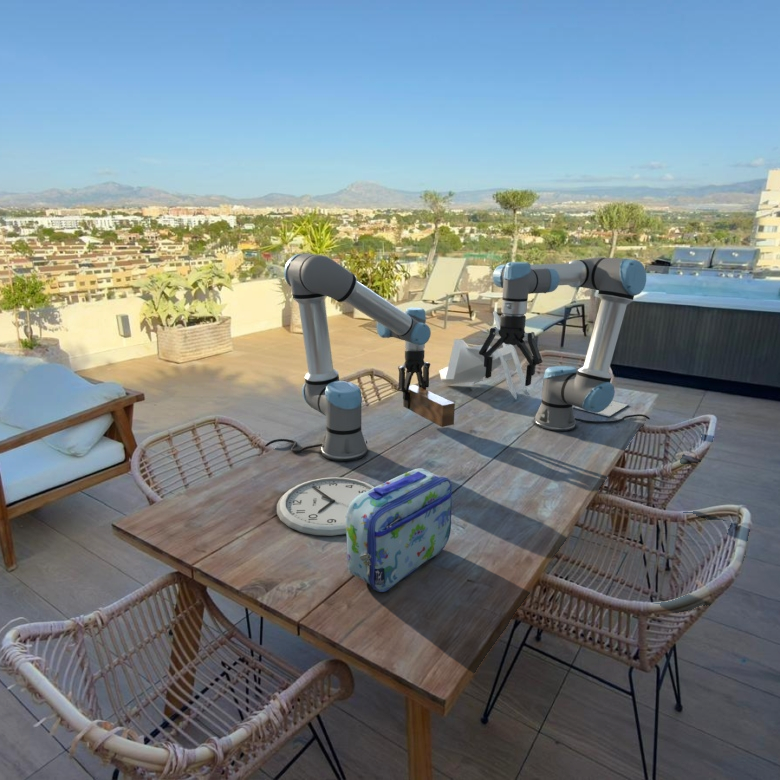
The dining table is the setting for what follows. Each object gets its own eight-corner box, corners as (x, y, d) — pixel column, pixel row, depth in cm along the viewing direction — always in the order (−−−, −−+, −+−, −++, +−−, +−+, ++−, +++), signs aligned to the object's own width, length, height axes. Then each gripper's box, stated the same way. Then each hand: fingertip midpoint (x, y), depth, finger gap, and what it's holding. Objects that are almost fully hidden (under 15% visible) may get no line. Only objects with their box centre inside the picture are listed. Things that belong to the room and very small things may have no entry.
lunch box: (374, 604, 105) (375, 512, 99) (340, 579, 113) (339, 492, 106) (455, 552, 123) (460, 471, 117) (421, 533, 130) (424, 456, 124)
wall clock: (392, 527, 129) (268, 531, 127) (391, 533, 130) (269, 537, 127) (383, 473, 158) (282, 475, 155) (383, 478, 158) (282, 480, 156)
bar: (453, 424, 189) (454, 403, 187) (442, 427, 187) (442, 405, 184) (414, 404, 210) (414, 384, 208) (403, 406, 208) (403, 386, 205)
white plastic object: (461, 429, 252) (437, 405, 227) (444, 352, 274) (420, 323, 250) (535, 404, 240) (518, 377, 215) (510, 326, 262) (492, 293, 237)
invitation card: (608, 416, 214) (573, 407, 224) (608, 416, 214) (573, 408, 224) (628, 404, 229) (594, 396, 238) (628, 405, 229) (594, 397, 238)
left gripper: (428, 344, 207) (427, 399, 214) (388, 349, 198) (388, 407, 205) (440, 348, 201) (437, 405, 208) (399, 353, 192) (398, 413, 199)
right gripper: (471, 311, 164) (467, 376, 170) (548, 320, 150) (541, 391, 156) (482, 308, 170) (478, 371, 176) (557, 317, 155) (550, 385, 162)
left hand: (413, 406), depth 206 cm, fingers closed on bar, 5 cm apart
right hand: (507, 381), depth 166 cm, fingers open, 13 cm apart
